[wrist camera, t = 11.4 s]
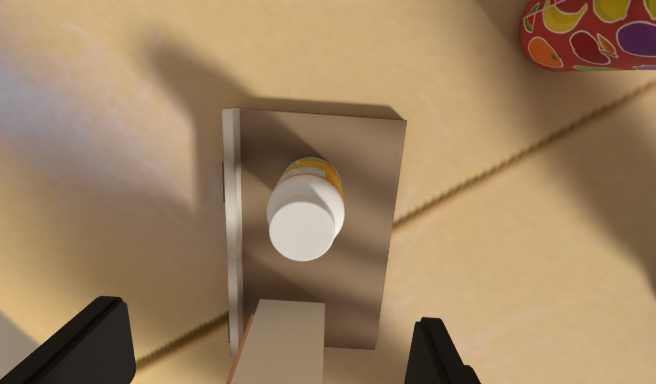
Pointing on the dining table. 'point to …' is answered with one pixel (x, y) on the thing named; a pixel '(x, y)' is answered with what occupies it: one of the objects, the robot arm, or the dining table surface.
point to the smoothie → (590, 34)
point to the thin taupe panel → (350, 243)
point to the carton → (282, 345)
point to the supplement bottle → (306, 209)
